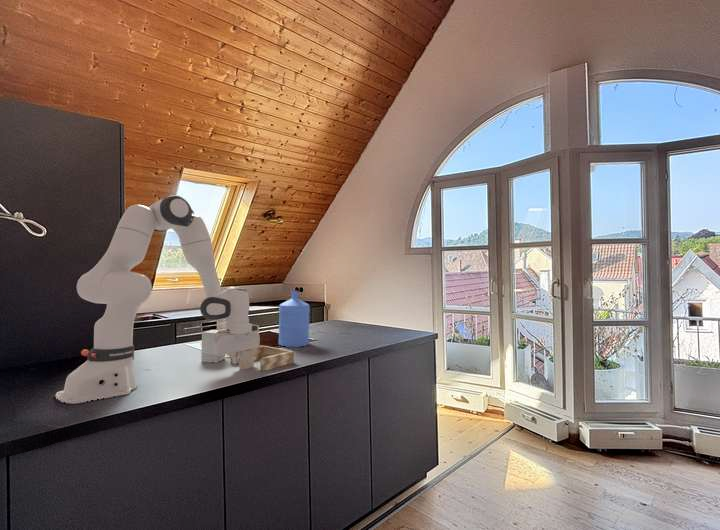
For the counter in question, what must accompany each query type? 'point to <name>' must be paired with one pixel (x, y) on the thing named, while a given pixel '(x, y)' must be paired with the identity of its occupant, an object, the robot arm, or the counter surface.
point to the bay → (271, 357)
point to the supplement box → (209, 347)
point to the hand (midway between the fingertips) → (236, 362)
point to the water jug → (294, 322)
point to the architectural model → (247, 359)
